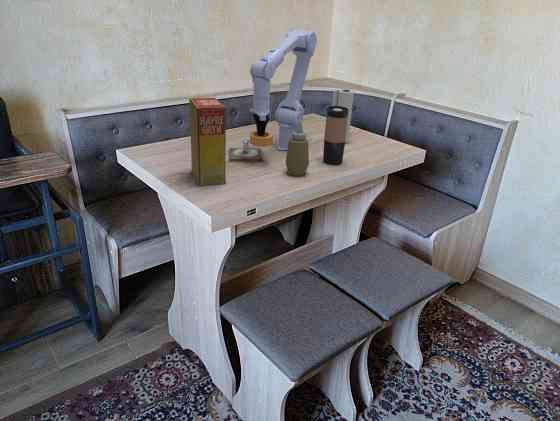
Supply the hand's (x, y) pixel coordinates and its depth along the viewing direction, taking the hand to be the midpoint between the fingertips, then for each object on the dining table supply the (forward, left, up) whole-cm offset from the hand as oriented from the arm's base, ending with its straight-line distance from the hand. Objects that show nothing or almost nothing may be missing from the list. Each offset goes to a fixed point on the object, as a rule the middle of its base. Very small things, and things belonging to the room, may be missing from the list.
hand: (260, 134), depth 165 cm
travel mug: (-27, +2, -10) cm, 29 cm away
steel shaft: (+5, -4, -9) cm, 11 cm away
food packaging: (+18, +17, -10) cm, 27 cm away
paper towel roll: (-35, -22, -10) cm, 42 cm away
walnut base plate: (+5, -4, -9) cm, 11 cm away
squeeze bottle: (-12, +13, -10) cm, 20 cm away
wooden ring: (0, +3, -2) cm, 4 cm away
